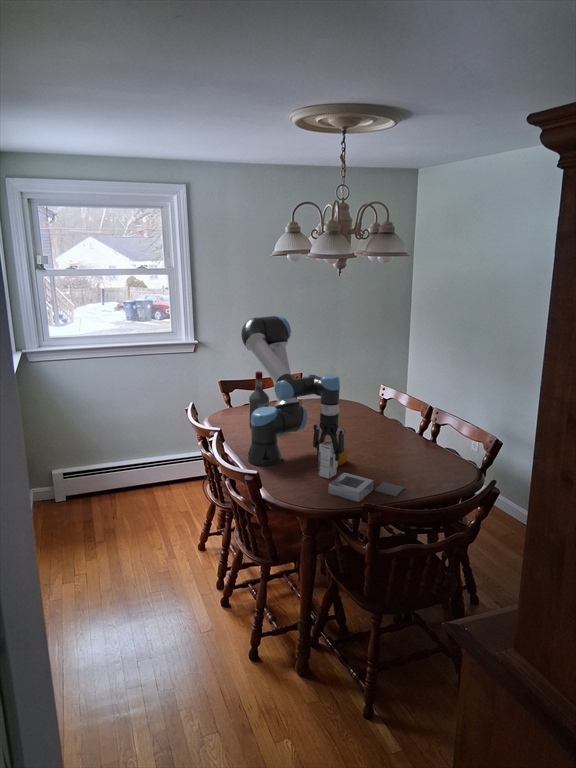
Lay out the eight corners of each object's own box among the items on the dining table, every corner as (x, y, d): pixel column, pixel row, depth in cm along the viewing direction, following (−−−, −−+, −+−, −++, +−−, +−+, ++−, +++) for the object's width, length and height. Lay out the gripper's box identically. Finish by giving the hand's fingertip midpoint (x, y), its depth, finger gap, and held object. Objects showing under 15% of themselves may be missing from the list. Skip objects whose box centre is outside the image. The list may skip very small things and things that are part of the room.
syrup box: (325, 471, 226) (326, 439, 222) (337, 475, 222) (338, 442, 219) (317, 475, 222) (318, 443, 218) (329, 479, 218) (330, 446, 214)
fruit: (325, 456, 242) (326, 435, 239) (350, 460, 238) (351, 439, 235) (317, 465, 231) (317, 444, 229) (342, 470, 227) (343, 448, 225)
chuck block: (328, 493, 206) (328, 483, 205) (343, 481, 216) (344, 472, 215) (358, 502, 199) (359, 492, 198) (373, 489, 209) (373, 480, 208)
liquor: (247, 427, 279) (246, 372, 272) (257, 423, 286) (257, 369, 279) (261, 431, 274) (260, 375, 267) (271, 426, 282) (271, 371, 274)
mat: (374, 491, 208) (374, 490, 208) (383, 482, 215) (383, 481, 215) (395, 496, 203) (395, 495, 203) (404, 488, 210) (404, 487, 210)
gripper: (304, 411, 217) (303, 463, 223) (346, 419, 207) (344, 474, 213) (313, 406, 223) (312, 457, 229) (354, 414, 213) (352, 467, 219)
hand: (327, 465), depth 221 cm, fingers closed on syrup box, 6 cm apart
